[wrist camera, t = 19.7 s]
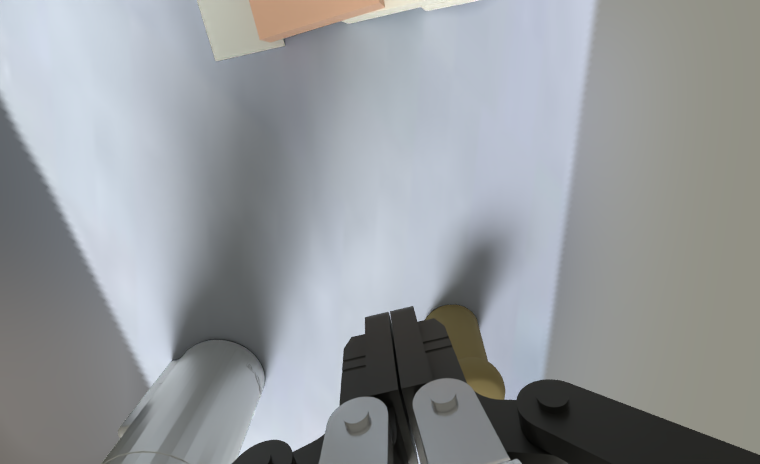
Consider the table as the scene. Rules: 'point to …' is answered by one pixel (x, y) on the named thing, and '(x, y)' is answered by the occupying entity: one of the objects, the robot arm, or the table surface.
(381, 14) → the domino
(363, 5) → the domino
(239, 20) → the block
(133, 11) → the table surface
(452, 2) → the domino
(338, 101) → the table surface
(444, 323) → the cork
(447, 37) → the table surface
